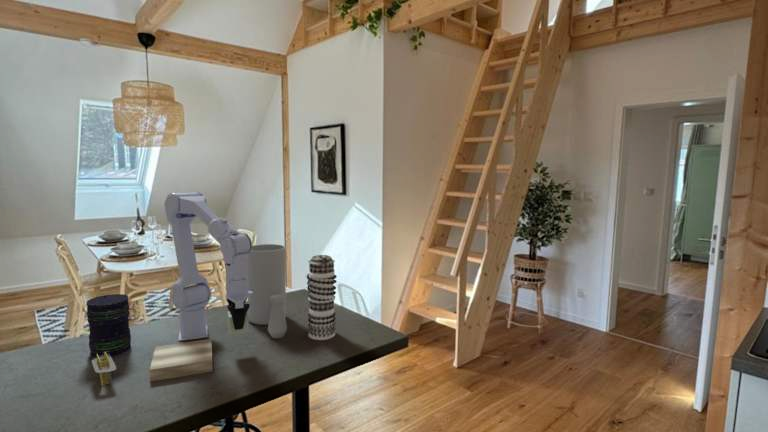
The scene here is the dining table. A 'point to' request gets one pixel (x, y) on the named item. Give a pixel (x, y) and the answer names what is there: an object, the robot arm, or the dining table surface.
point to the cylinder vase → (265, 280)
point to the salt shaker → (277, 317)
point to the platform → (104, 367)
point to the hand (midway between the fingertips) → (238, 325)
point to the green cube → (239, 331)
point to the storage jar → (109, 325)
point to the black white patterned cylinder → (321, 297)
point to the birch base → (181, 360)
